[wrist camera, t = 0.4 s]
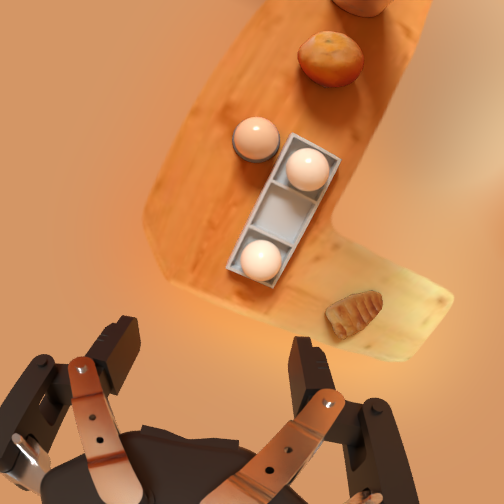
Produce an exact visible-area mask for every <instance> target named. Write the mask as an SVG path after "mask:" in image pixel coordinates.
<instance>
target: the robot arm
mask: <svg viewBox="0 0 504 504" xmlns="http://www.w3.org/2000/svg"><path fill="white" fill-rule="evenodd" d="M332 1H333V2H334V3H335V4H336V5H338V6H339V7H340V8H342V9H343V10H345V11H347V12H349V13H351V14H354V15H357V16H361V17H374V16H377V15H378V14H380V13H381V12H382V11H383V10H384V9H385V8H386V7H387V6H388V5H389V4H390V3H391V2H392V1H393V0H332ZM140 341H141V340H140V334H139V328H138V321H137V318H135V317H130V316H124V315H122V316H121V317H120V319H119V320H118V322H117V323H112V324H110V325H109V326H107V327H105V329H104V330H103V331H102V333H101V335H99V337H98V338H97V340H96V341H95V342H94V344H93V345H92V347H91V348H90V349H89V351H88V352H87V354H86V355H85V356H83V357H77V358H75V359H73V360H72V361H71V362H70V363H69V364H55V361H54V359H53V358H52V357H51V356H50V355H47V354H42V355H38V356H36V357H35V358H34V359H33V360H32V361H31V362H30V364H29V365H28V367H27V368H26V369H25V371H24V372H23V374H22V375H21V376H20V378H19V379H18V381H17V382H16V384H15V385H14V387H13V388H12V389H11V391H10V393H9V394H8V396H7V397H6V399H5V400H4V402H3V404H2V405H1V407H0V473H1V474H2V475H3V476H4V477H5V478H7V479H8V480H9V481H10V482H12V483H14V484H15V485H16V486H18V487H19V488H21V489H22V490H25V491H32V492H34V493H35V494H37V495H39V496H41V500H42V504H308V503H307V502H306V501H305V500H304V499H302V498H301V497H300V496H299V495H298V494H297V493H296V492H295V491H294V490H293V489H292V488H291V487H290V485H291V484H292V482H293V481H294V480H295V479H296V478H297V476H298V475H299V474H300V473H301V471H302V470H303V469H304V467H305V466H306V465H307V463H308V462H309V461H310V459H311V458H312V457H313V455H314V454H315V453H316V451H317V450H318V449H319V447H320V446H321V444H322V443H323V441H329V442H335V443H339V444H342V445H343V451H344V458H345V465H346V472H347V479H348V486H349V495H350V499H349V500H348V501H346V502H345V503H344V504H419V500H418V496H417V492H416V488H415V484H414V481H413V477H412V473H411V470H410V466H409V463H408V459H407V456H406V453H405V450H404V446H403V443H402V440H401V437H400V434H399V431H398V428H397V425H396V422H395V419H394V416H393V414H392V410H391V408H390V406H389V405H388V403H387V402H386V401H384V400H382V399H379V398H370V399H368V400H366V401H365V402H364V404H359V403H353V402H349V401H346V400H345V399H344V397H343V396H342V394H341V393H339V392H338V391H336V389H335V386H334V382H333V379H332V376H331V373H330V369H329V366H328V363H327V359H326V356H325V353H324V352H323V351H322V350H321V349H320V348H319V347H312V343H311V339H310V337H298V336H295V337H294V340H293V344H292V348H291V352H290V356H289V361H288V373H289V380H290V389H291V397H292V405H293V412H294V420H293V421H292V420H290V421H288V422H287V424H286V425H285V426H284V427H283V428H282V429H281V430H280V431H279V432H278V433H277V434H276V435H275V436H274V437H273V438H272V440H271V441H270V442H269V443H268V444H267V445H266V446H265V447H264V448H263V449H262V450H261V451H260V452H259V453H258V454H256V453H254V452H252V451H250V450H248V449H245V448H243V447H239V440H230V439H219V438H207V439H185V438H183V437H181V436H178V435H175V434H173V433H171V432H169V431H166V430H163V429H159V428H154V427H149V426H146V425H142V428H141V431H130V432H125V433H122V434H121V432H120V430H119V428H118V425H117V422H116V420H115V417H114V415H113V412H112V410H111V407H110V404H109V401H108V395H109V394H110V393H111V394H114V395H118V393H119V391H120V389H121V387H122V385H123V383H124V381H125V379H126V377H127V375H128V373H129V371H130V369H131V367H132V365H133V363H134V361H135V359H136V357H137V355H138V353H139V351H140V346H141V342H140ZM44 394H45V396H44ZM43 396H44V398H43V400H42V401H41V399H42V397H43ZM40 401H41V403H40ZM39 404H40V405H39ZM70 405H72V407H73V411H74V415H75V420H76V424H77V428H78V431H79V435H80V438H81V442H82V445H83V448H84V452H85V453H84V454H82V455H80V456H78V457H76V458H74V459H72V460H70V461H68V462H65V463H63V464H61V465H59V466H57V467H55V468H53V469H51V467H50V464H51V461H50V457H49V455H48V452H49V450H50V448H51V446H52V443H53V441H54V439H55V436H56V434H57V432H58V430H59V427H60V426H61V423H62V421H63V419H64V417H65V415H66V413H67V411H68V409H69V407H70Z"/></svg>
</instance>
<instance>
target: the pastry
mask: <svg viewBox="0 0 504 504" xmlns="http://www.w3.org/2000/svg"><path fill="white" fill-rule="evenodd" d="M382 305H383V301H382V296H381V294H380V293H377V292H375V291H367V292H364V293H359V294H351V295H350V296H349V297H346V298H344V299H342V300H340V301H338V302H336V303H334V304H332V305H331V306H330V307H328V308H327V309H326V311H325V314H326V316H327V318H328V320H329V321H330V322H331V324H332V328H333V330H334V332H335V334H336V335H337V336H338V337H339V338H340V339H345V338H346V337H348V336H351V335H354V334H356V333H357V332H358V331H361V330H363V329H364V328H365V327H366V326H367V325H368V324H369V322H370V321H372V320H373V319H374V318H375V317H376V315H377V314H378V313H379V311H380V310H381V309H382Z"/></svg>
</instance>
